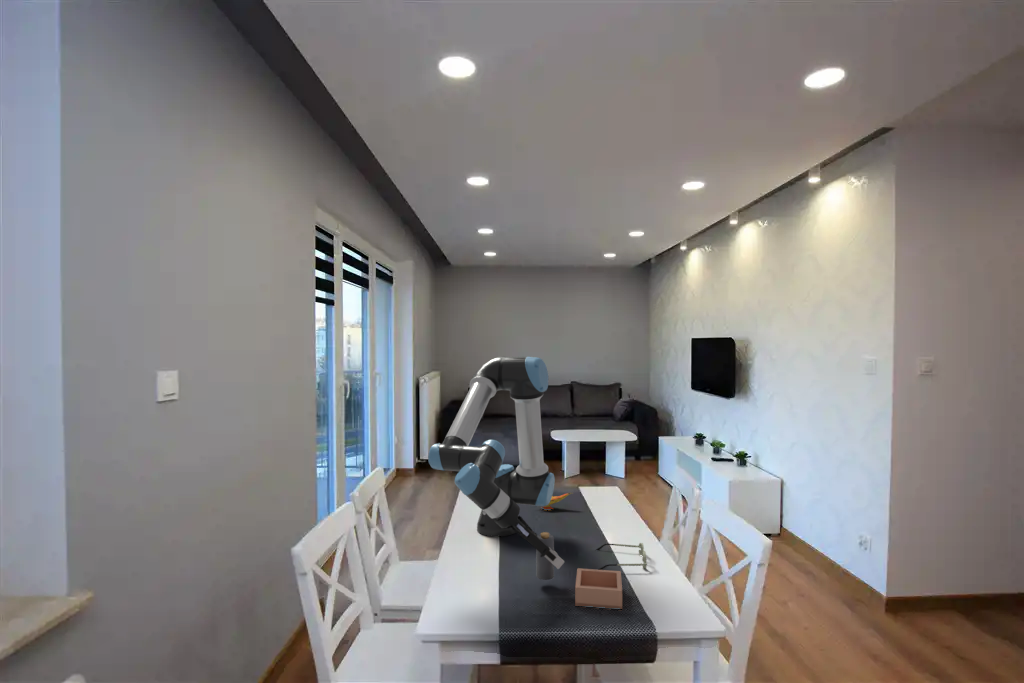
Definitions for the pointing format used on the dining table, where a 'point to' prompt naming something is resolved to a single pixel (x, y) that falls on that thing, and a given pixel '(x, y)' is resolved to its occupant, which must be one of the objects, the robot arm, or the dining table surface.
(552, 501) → the magic lamp
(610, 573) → the terracotta rectangular open box
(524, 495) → the robot arm
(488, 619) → the dining table surface
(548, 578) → the battery cell
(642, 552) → the sunglasses
